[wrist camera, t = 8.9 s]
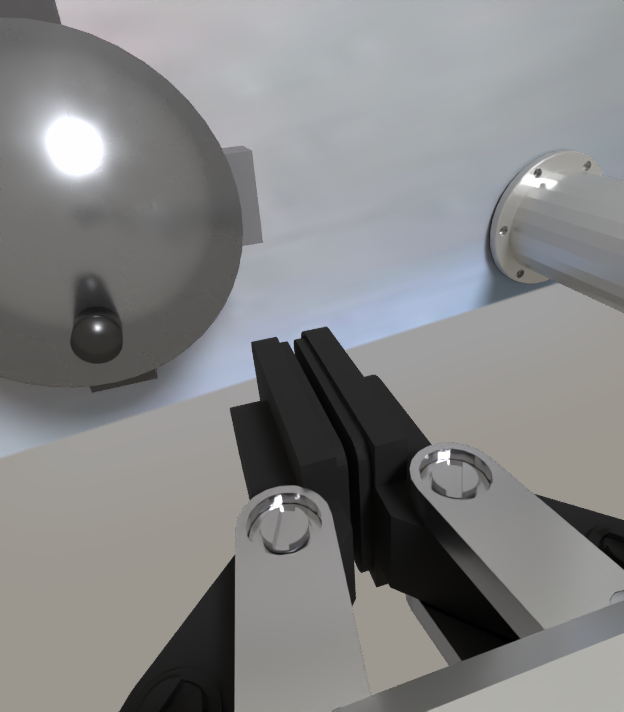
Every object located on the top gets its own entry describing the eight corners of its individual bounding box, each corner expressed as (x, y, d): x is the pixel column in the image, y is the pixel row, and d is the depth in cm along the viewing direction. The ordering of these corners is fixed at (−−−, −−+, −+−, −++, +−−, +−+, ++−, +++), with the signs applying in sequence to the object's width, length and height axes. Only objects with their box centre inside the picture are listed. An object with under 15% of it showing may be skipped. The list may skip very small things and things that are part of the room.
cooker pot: (200, -5, 30) (231, -42, 21) (245, 299, 40) (278, 361, 31) (-132, 6, 25) (-276, -35, 16) (17, 342, 36) (-21, 429, 27)
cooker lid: (209, 12, 21) (221, 3, 19) (256, 340, 30) (268, 363, 28) (-352, 34, 16) (-434, 26, 14) (-100, 419, 25) (-124, 455, 23)
